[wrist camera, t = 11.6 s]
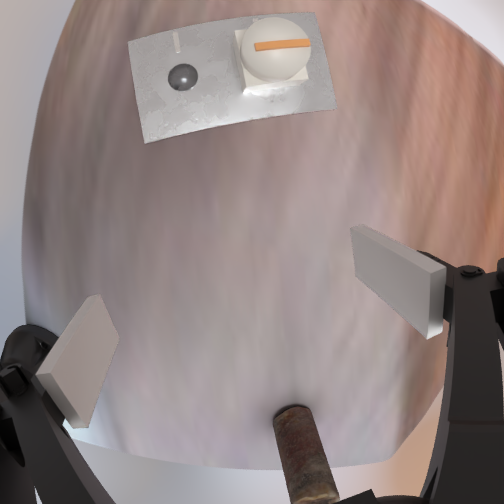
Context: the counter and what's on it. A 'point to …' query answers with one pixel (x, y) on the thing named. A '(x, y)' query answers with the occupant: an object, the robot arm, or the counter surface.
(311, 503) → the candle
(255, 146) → the counter surface
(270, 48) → the knob
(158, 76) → the panel
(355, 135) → the counter surface
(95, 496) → the robot arm
